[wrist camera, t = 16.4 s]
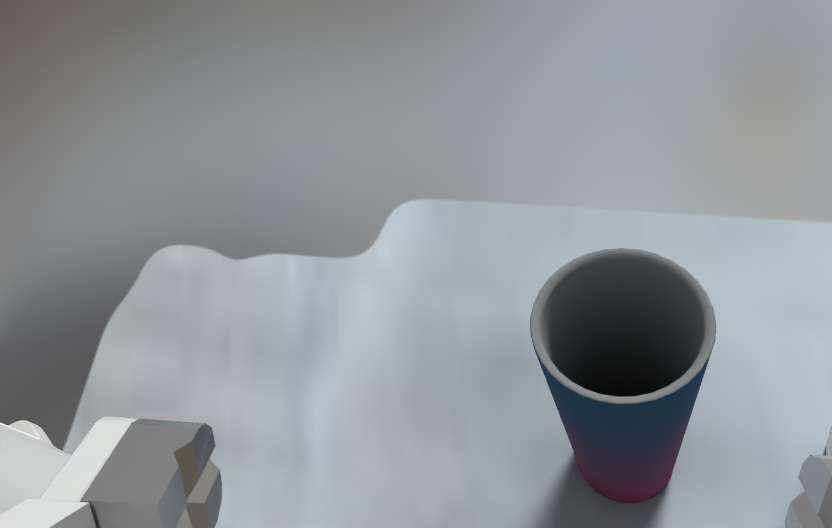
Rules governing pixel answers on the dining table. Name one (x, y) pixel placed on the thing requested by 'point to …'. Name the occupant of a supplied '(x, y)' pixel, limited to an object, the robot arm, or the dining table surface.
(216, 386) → the dining table surface
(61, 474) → the robot arm
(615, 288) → the cup
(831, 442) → the shot glass
